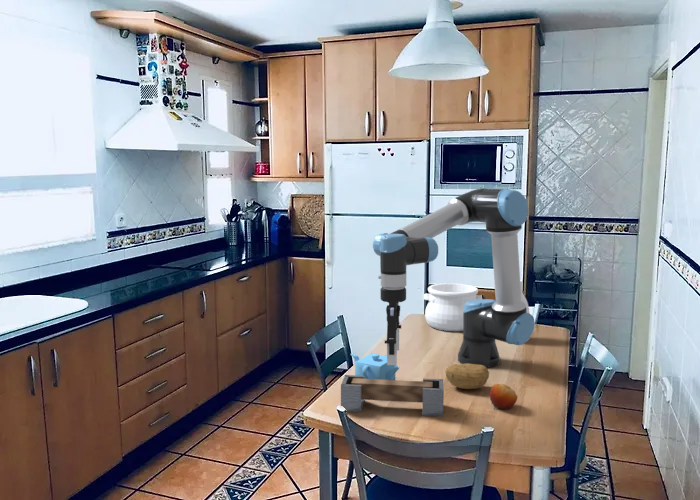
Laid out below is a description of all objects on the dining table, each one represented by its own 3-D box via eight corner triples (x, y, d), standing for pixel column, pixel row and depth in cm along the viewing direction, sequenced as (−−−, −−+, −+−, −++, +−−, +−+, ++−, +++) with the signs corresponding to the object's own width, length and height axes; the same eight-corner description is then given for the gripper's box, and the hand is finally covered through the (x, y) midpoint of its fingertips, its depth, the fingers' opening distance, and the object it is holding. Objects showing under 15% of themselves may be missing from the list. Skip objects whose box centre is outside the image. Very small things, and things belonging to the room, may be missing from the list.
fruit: (480, 397, 183) (493, 376, 182) (501, 409, 184) (514, 388, 183) (488, 408, 175) (502, 385, 174) (510, 420, 176) (524, 398, 175)
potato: (444, 381, 201) (445, 358, 199) (487, 384, 198) (488, 361, 197) (444, 392, 191) (445, 368, 190) (489, 395, 189) (490, 371, 188)
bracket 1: (340, 411, 177) (340, 385, 175) (345, 399, 185) (345, 374, 184) (361, 412, 176) (361, 386, 175) (364, 400, 185) (364, 375, 184)
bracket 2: (442, 404, 181) (443, 379, 180) (443, 416, 173) (443, 390, 172) (422, 403, 182) (423, 378, 181) (422, 415, 173) (422, 389, 172)
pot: (422, 331, 261) (422, 292, 258) (424, 317, 285) (424, 281, 282) (482, 334, 256) (484, 294, 254) (480, 320, 280) (481, 283, 278)
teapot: (386, 401, 184) (387, 366, 183) (338, 389, 194) (338, 356, 192) (409, 385, 198) (410, 352, 196) (363, 375, 207) (363, 343, 205)
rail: (432, 397, 179) (432, 381, 178) (432, 403, 175) (432, 386, 174) (353, 393, 182) (353, 378, 181) (351, 398, 178) (351, 382, 178)
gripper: (383, 278, 187) (383, 343, 190) (376, 296, 162) (377, 371, 165) (407, 278, 186) (407, 344, 189) (404, 296, 161) (404, 372, 164)
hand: (393, 357), depth 177 cm, fingers open, 13 cm apart
